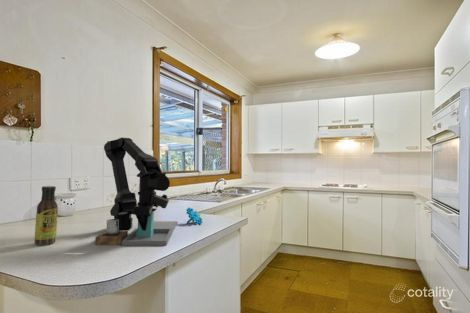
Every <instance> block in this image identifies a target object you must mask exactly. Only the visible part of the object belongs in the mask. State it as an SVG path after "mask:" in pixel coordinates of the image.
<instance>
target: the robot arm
mask: <svg viewBox="0 0 470 313" xmlns="http://www.w3.org/2000/svg"><path fill="white" fill-rule="evenodd" d="M103 149H104V150H103V151H104V153H105V156H106V158H107V159H108V160H109V161H110V162H111V167H112V171H113V172H112V173H113V178H114V183H115V184H114V185H115V187H116V188H115V190H116V196H115V197H114V200H113V201H114V204H113V206H112V207H111V209H110V216H111V217H113V219H119V231H130V230H131V229H132V228H133V217H132V215H133V216H135V217H136V219H137V222H138V221H139V223H140V226H141V228H142V230H143V231H145V230H146V227H147V222H148V217H149V216H150V215H151V214H152V213H151V211H154V212H156V211H157V208H162V209H166V208H167V207H168V203H169V201H170V199H168V195H166V194H162V195H157V191H160V192H165V191H167V190H168V189H169V187H170V185H171V182H170V179H169V177H168V176H167V174H166V172H163V170H162V168H161V166H160V164H159V161H158V159H157V158H156V157H155V156H153V155H151V154H149V153H146V152H144V151H143V150H142V148H140V147H139V146H138V145H137V144H136V143H135V142H134V141H133V139H132V138H130V137H119V138H117V139H113V140H108V141H106V143H105V144H104V146H103ZM126 153H127V154H128V155H129V156H130V157H131V158H132V159H133V161H134V165H135V167H136V169H137V170H138V171H139V173H138V174H136V178H139V184H138V187H139V189H138V191H137V195H138V200H137V197H136V193H135V192H132V191H131V190H130V187H129V182H128V177H127V172H126V166H125V161H124V159H125V156H126Z"/></svg>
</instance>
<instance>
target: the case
mask: <svg viewBox="0 0 470 313" xmlns="http://www.w3.org/2000/svg"><path fill="white" fill-rule="evenodd" d="M178 223H179V222H178V221H177V220H175V221H171V220H170V221H168V220H167V221H166V220H164V221H163V220H160V221H159V220H158V221H157V220H156V221H155V220H154V229H153V235H152V236H151V237H137V234H138V227H136V228H134V229H133V230H132V231H131V232H130V233H128V236H127V237H126V238H125V239H124V240H123V241H122V244H121V246H122V247H147V246H151V247H155V246H156V247H158V246H160V247H163V246H168V243H169V241H170V240H171V237H172V235H173V234H174V231H175V229H176V227H177V225H178Z"/></svg>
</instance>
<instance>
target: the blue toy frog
mask: <svg viewBox="0 0 470 313" xmlns="http://www.w3.org/2000/svg"><path fill="white" fill-rule="evenodd" d="M186 215H188V218H189V219H188V220H187V221H186V224H190V222H194V223H195V224H196V225H202V224H203V218H202V217H201V213H198V211H197V210H195V211H194V208H191V207H187V209H186Z"/></svg>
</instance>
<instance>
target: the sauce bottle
mask: <svg viewBox="0 0 470 313" xmlns="http://www.w3.org/2000/svg"><path fill="white" fill-rule="evenodd" d="M56 190H57V189H56V186H55V185H44V186H41V198H40V199H41V200H40V201H39V203H38V204H37V206H36V213H35V214H36V215H35V227H34V228H35V229H34V245H36V246H47V245H51V244H54V243H56V237H57V231H58V230H57V228H58V227H57V226H58V215H59V214H58V212H59V211H58V210H59V209H58V207H59V206H58V203H57V202H56V201H55V194H56Z"/></svg>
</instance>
